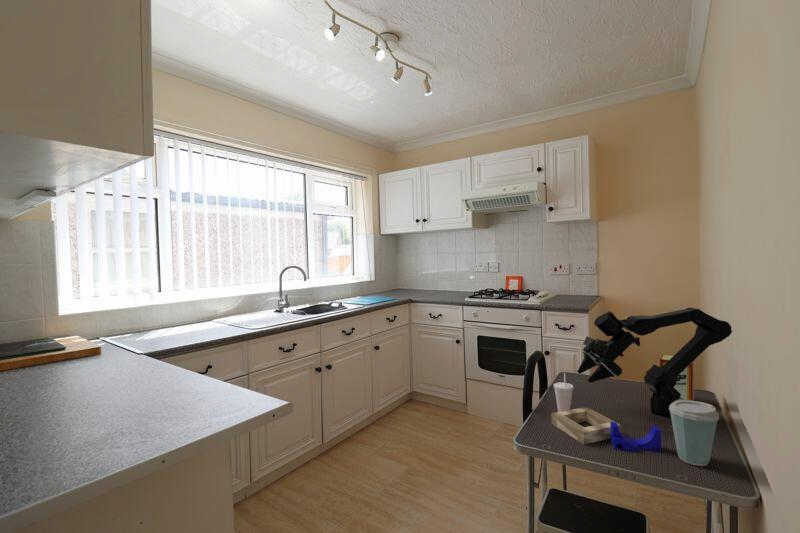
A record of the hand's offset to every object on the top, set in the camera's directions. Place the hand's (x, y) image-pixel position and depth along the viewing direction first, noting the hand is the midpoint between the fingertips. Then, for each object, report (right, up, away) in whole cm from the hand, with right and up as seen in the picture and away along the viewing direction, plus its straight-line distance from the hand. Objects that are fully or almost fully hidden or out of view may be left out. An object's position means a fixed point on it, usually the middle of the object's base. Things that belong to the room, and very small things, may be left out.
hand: (583, 376), depth 131 cm
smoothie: (-6, -13, +1) cm, 14 cm away
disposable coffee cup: (+15, -14, -30) cm, 36 cm away
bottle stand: (-5, -13, -12) cm, 18 cm away
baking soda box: (+38, -11, +8) cm, 41 cm away
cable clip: (+4, -14, -23) cm, 27 cm away
